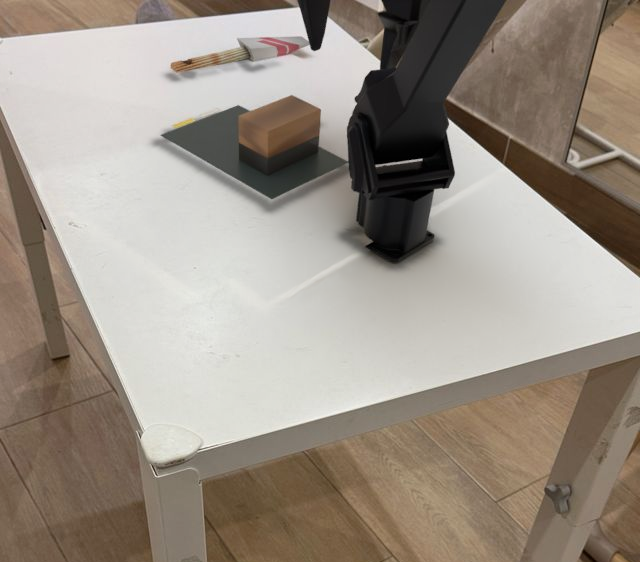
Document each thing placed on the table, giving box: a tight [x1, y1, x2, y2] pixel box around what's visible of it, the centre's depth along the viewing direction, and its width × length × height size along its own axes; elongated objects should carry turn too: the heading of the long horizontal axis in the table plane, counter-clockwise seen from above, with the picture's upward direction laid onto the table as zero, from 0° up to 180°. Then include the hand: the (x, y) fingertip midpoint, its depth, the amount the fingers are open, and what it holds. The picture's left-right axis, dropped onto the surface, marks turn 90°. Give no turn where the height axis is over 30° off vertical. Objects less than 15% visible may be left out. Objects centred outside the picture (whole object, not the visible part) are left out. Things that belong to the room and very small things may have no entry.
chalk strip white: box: [198, 107, 222, 118], centre depth 97 cm, size 1×3×1 cm
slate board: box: [160, 104, 348, 200], centre depth 91 cm, size 18×12×1 cm, turn 47°
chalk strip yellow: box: [171, 117, 197, 129], centre depth 95 cm, size 1×3×1 cm
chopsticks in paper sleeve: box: [170, 35, 310, 73], centre depth 108 cm, size 4×3×20 cm
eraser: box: [239, 94, 322, 175], centre depth 88 cm, size 4×8×5 cm, turn 137°
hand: (349, 64), depth 82 cm, fingers open, 9 cm apart
